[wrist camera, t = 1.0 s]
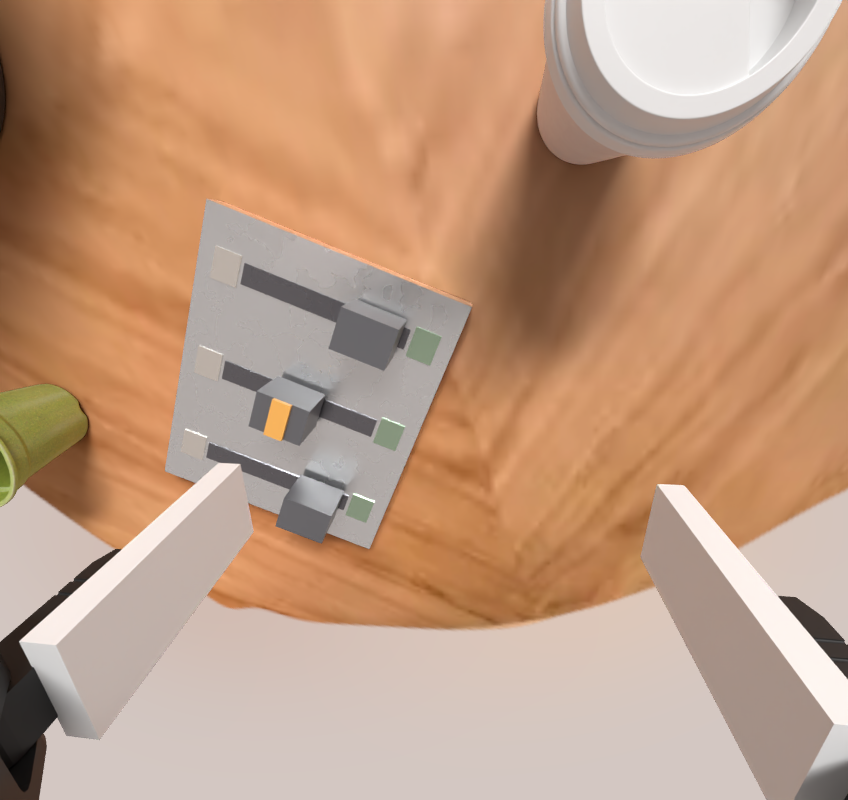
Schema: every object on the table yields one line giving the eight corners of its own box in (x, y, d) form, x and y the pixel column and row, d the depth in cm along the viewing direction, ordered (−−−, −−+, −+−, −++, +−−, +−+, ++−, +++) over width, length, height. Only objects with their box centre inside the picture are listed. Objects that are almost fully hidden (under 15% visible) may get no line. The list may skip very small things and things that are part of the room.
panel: (179, 460, 40) (164, 471, 38) (222, 200, 31) (205, 198, 29) (373, 534, 41) (368, 550, 39) (471, 302, 32) (471, 307, 30)
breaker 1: (269, 408, 34) (246, 427, 31) (278, 375, 33) (254, 392, 29) (315, 426, 34) (297, 447, 31) (325, 394, 33) (308, 413, 30)
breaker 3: (343, 337, 31) (328, 348, 28) (355, 298, 30) (341, 306, 27) (393, 357, 31) (384, 370, 28) (406, 319, 30) (399, 330, 27)
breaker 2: (292, 500, 37) (275, 526, 34) (300, 474, 36) (284, 497, 33) (334, 517, 37) (321, 543, 34) (344, 491, 36) (331, 516, 33)
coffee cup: (639, 200, 28) (802, 167, 14) (498, 179, 29) (522, 127, 15) (694, 22, 25) (984, -256, 11) (532, 0, 25) (606, -293, 11)
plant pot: (96, 473, 42) (6, 529, 34) (5, 428, 41) (-108, 475, 33) (115, 398, 38) (21, 441, 30) (17, 347, 38) (-107, 378, 30)
